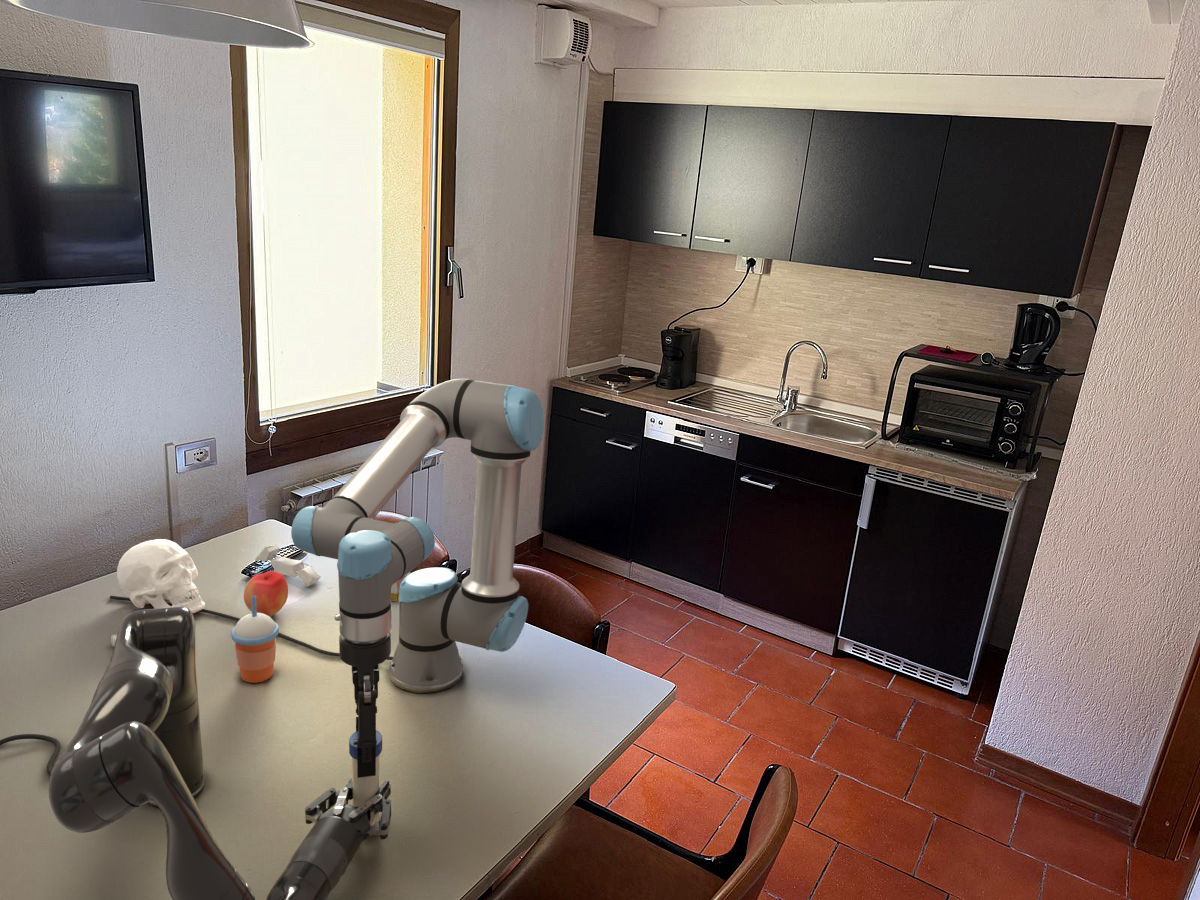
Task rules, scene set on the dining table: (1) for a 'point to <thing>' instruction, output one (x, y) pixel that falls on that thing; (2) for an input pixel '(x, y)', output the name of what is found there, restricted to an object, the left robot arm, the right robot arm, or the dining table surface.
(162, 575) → the skull
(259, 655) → the cup with straw
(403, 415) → the right robot arm
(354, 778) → the white cylindrical bottle
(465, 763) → the dining table surface
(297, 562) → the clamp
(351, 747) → the lid
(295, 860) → the left robot arm
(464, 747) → the dining table surface
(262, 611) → the apple
